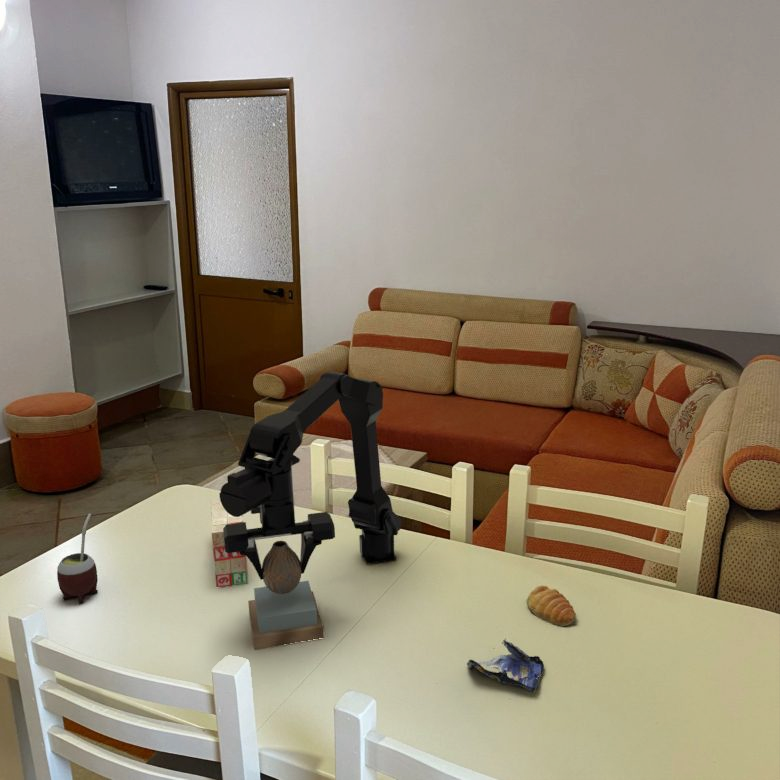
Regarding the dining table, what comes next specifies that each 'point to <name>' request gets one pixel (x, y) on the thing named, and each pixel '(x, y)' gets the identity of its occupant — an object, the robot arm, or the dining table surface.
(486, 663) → the snack package
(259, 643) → the tower base
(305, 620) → the tower top
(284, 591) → the vase
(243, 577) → the stack of blocks
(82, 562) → the mate gourd
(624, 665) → the dining table surface
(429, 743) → the dining table surface
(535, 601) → the pastry
